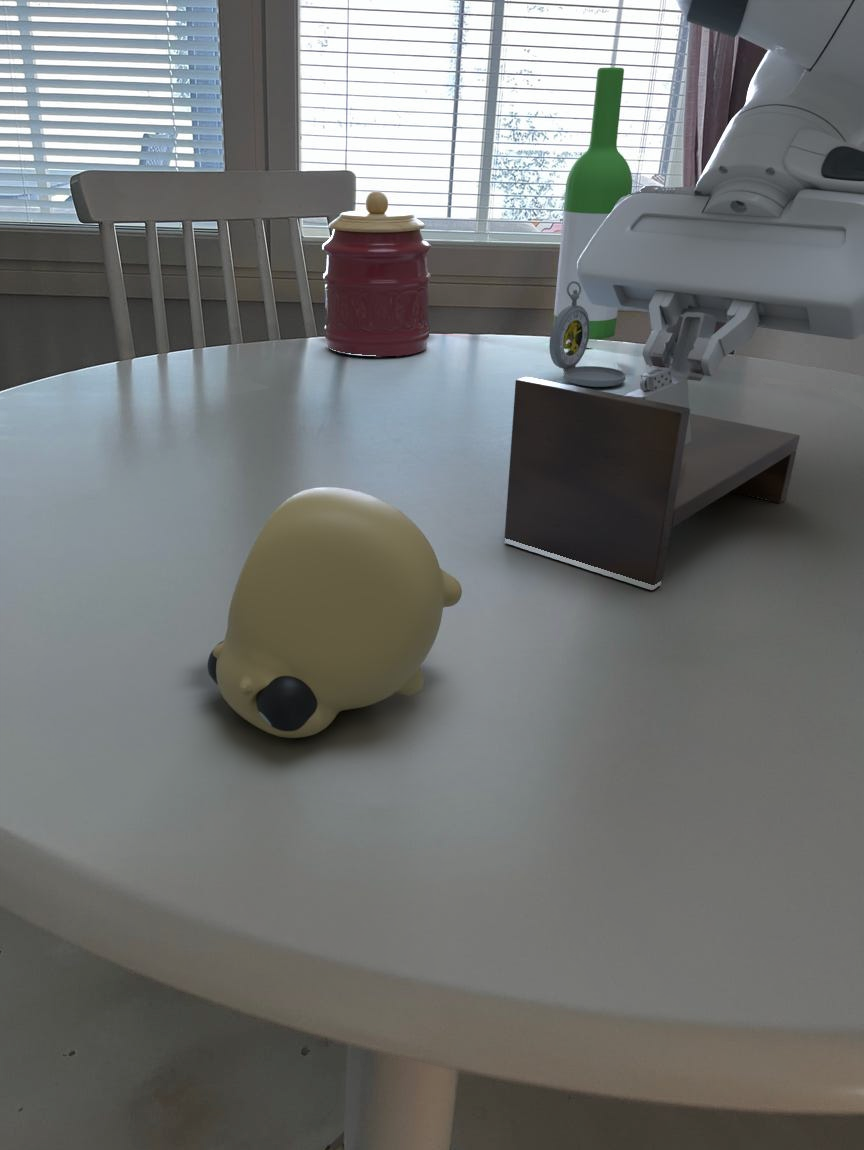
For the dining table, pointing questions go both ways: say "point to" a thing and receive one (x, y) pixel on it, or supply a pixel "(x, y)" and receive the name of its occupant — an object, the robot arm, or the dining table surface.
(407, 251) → the kitchen canister
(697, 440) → the shelf
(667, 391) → the lighter
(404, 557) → the toy pig
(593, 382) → the pocket watch
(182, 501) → the dining table surface
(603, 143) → the wine bottle
